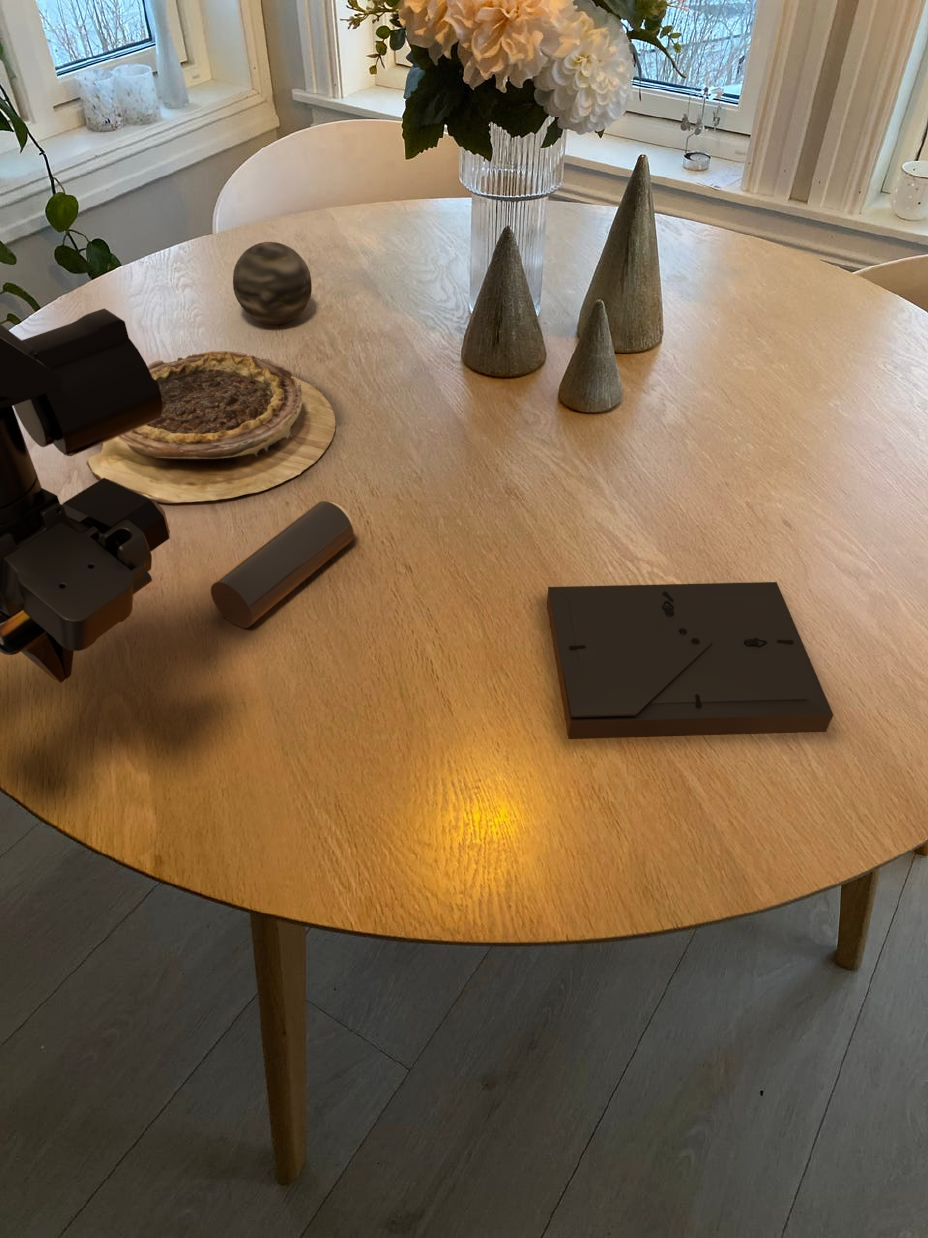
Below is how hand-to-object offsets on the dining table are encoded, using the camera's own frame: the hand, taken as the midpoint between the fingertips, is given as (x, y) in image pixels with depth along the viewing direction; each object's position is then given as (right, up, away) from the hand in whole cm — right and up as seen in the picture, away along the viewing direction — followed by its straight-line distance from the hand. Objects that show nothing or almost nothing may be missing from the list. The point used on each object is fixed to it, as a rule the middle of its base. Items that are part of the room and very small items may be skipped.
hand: (61, 677), depth 64 cm
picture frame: (+45, 0, +18) cm, 49 cm away
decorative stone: (+2, +43, +63) cm, 76 cm away
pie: (-1, +25, +43) cm, 50 cm away
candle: (+7, +5, +19) cm, 21 cm away
